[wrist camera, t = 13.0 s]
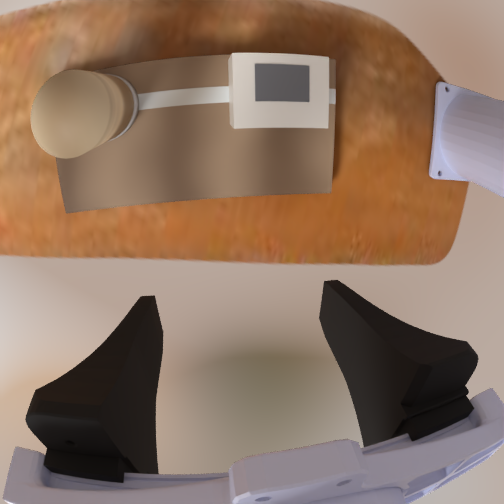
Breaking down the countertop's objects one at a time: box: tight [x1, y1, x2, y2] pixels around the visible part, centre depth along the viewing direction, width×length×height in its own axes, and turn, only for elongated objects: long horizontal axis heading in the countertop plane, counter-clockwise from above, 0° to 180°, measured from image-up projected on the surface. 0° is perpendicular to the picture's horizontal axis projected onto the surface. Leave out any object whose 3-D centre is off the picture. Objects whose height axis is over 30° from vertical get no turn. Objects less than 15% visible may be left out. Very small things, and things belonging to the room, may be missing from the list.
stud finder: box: [228, 53, 329, 129], centre depth 16 cm, size 5×4×3 cm
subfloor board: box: [56, 55, 336, 213], centre depth 18 cm, size 18×9×1 cm, turn 91°
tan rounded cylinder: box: [31, 69, 139, 159], centre depth 13 cm, size 4×4×6 cm
